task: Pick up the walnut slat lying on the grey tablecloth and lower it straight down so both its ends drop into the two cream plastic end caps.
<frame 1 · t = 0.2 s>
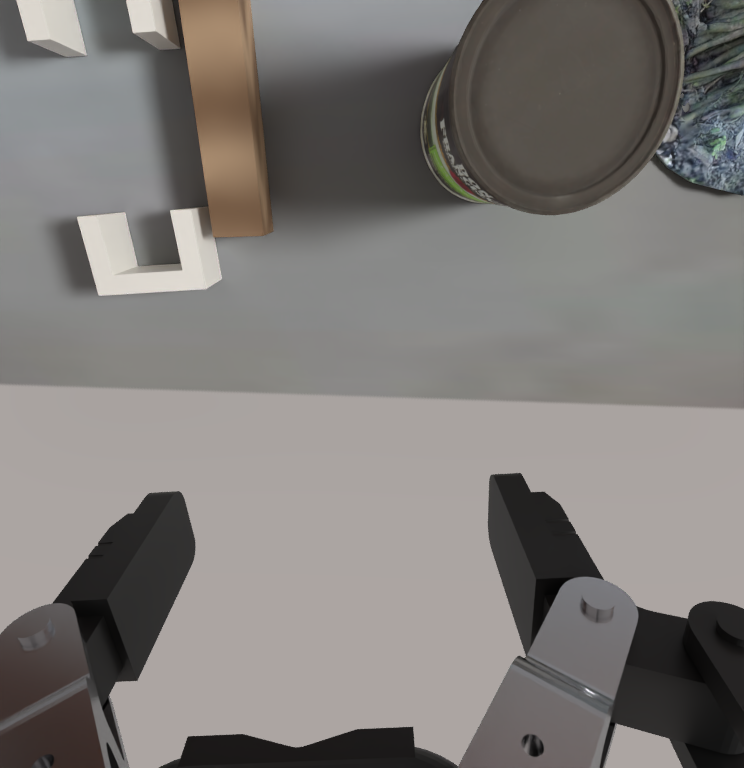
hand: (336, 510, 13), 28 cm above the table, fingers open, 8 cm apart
slat: (237, 113, 34), on the table
end caps: (141, 135, 35), on the table
coffee can: (492, 127, 35), on the table
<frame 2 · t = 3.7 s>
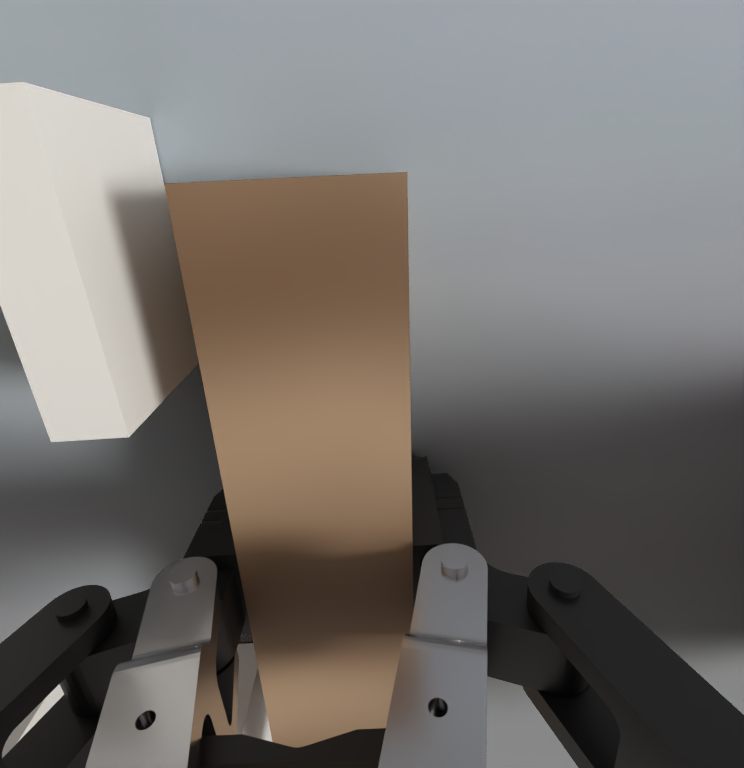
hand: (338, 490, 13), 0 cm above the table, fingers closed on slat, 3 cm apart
slat: (340, 485, 14), on the table, touching gripper
end caps: (105, 527, 14), on the table
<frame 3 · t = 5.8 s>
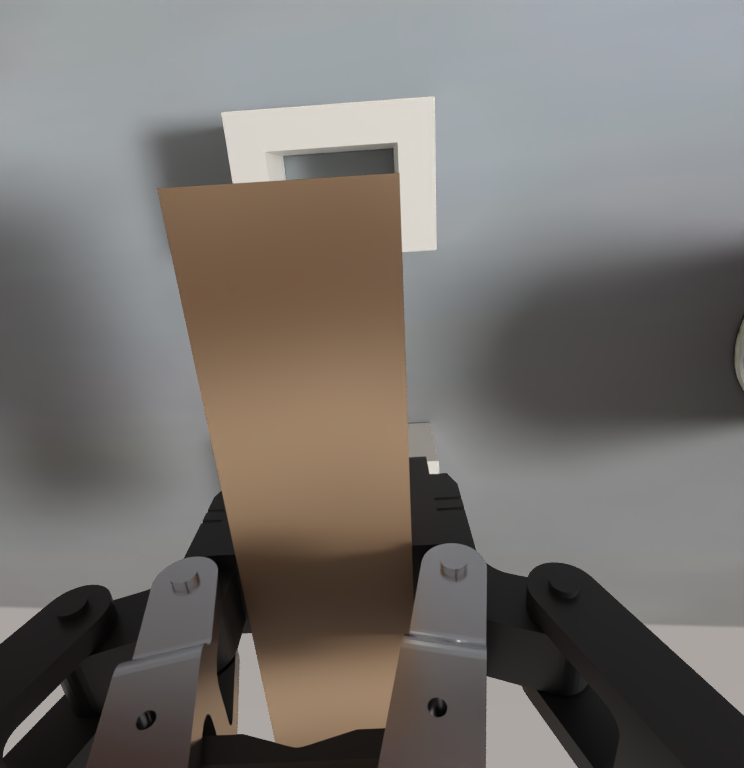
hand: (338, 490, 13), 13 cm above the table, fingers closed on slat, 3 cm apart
slat: (340, 486, 14), point 13 cm above the table, touching gripper
end caps: (353, 342, 25), on the table
when the fingers open (2 cm above the table, at t = 8.0 s): slat drops 2 cm, on the table.
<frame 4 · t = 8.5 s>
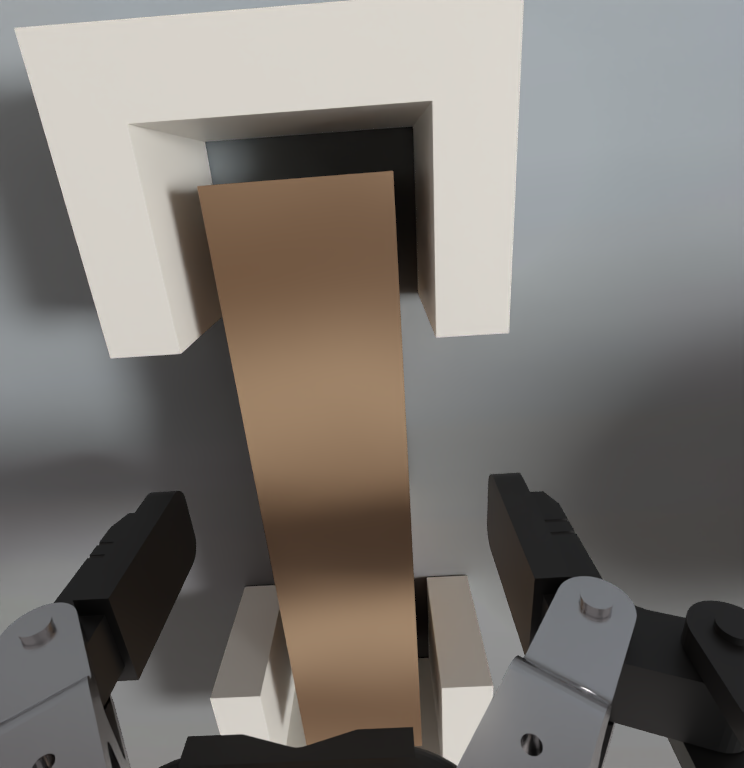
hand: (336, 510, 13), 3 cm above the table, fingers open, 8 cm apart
slat: (347, 452, 15), on the table
end caps: (342, 458, 15), on the table
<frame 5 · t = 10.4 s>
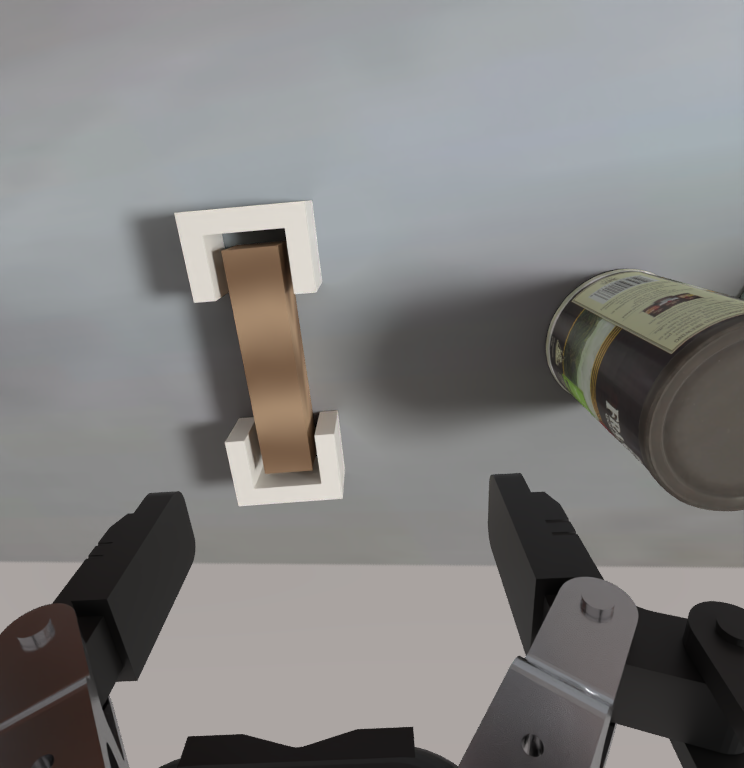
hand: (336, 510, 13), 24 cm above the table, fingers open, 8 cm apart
slat: (280, 352, 36), on the table
end caps: (278, 353, 36), on the table
coffee can: (613, 337, 36), on the table
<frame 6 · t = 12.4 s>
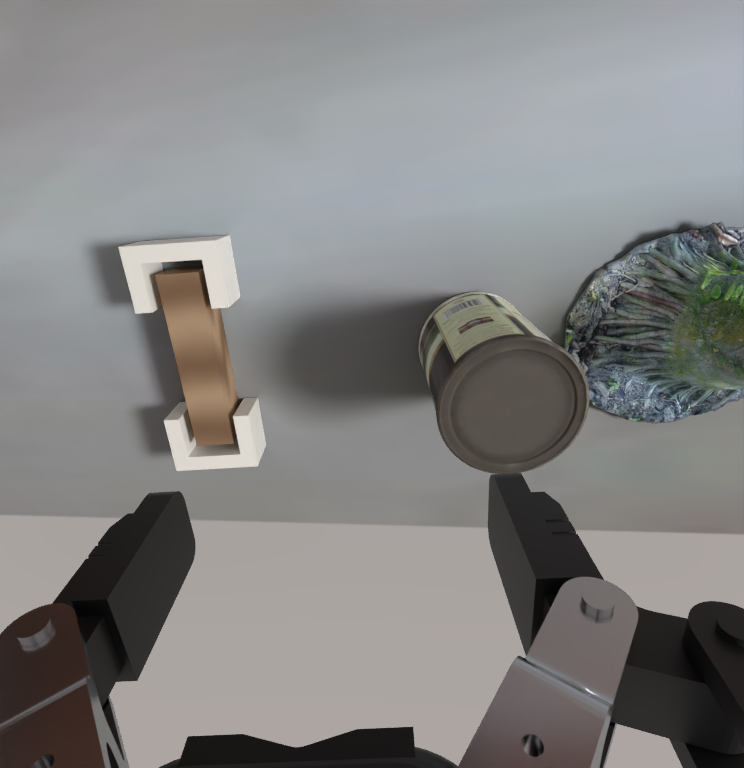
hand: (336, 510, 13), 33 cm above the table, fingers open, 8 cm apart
slat: (211, 350, 46), on the table
end caps: (208, 351, 46), on the table
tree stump: (673, 324, 45), on the table
coffee can: (472, 344, 46), on the table
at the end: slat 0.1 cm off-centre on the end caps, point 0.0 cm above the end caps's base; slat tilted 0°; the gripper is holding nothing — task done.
